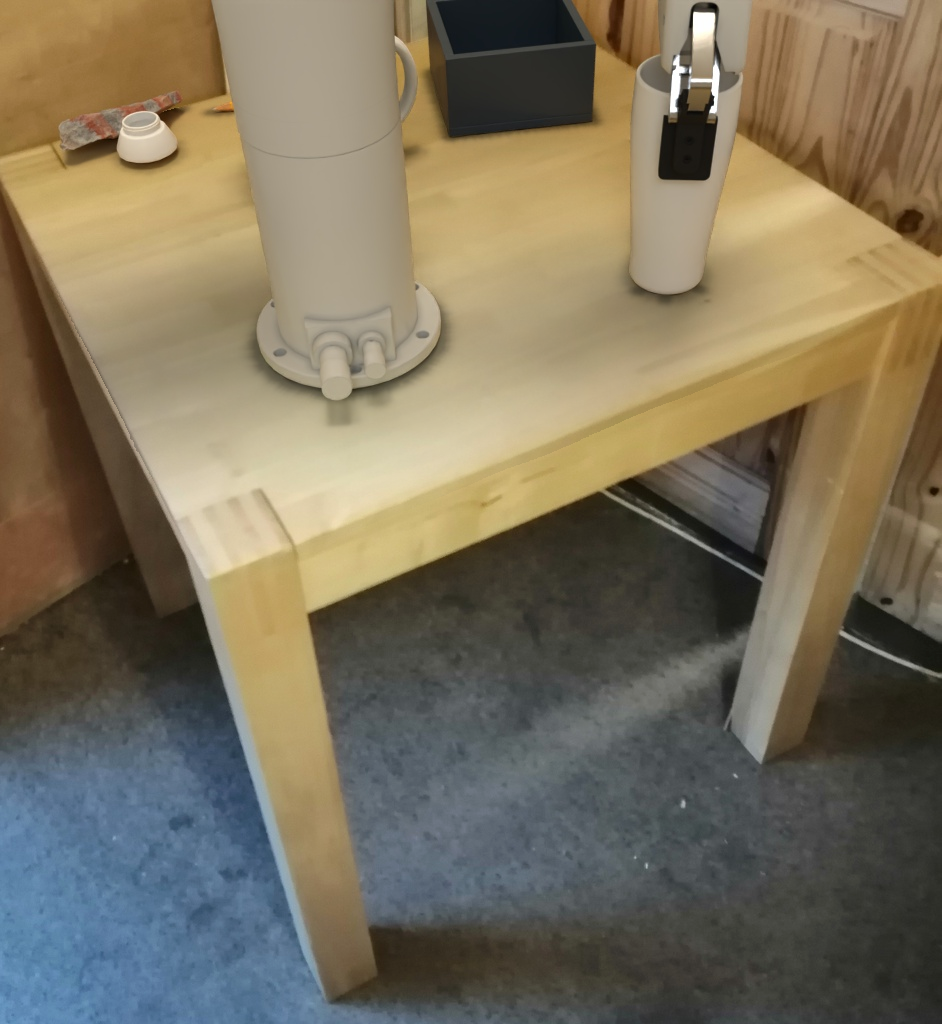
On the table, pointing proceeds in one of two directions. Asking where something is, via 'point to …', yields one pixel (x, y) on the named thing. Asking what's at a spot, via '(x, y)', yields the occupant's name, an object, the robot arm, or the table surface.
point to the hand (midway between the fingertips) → (681, 142)
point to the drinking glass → (673, 185)
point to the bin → (510, 64)
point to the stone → (109, 121)
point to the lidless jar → (145, 138)
